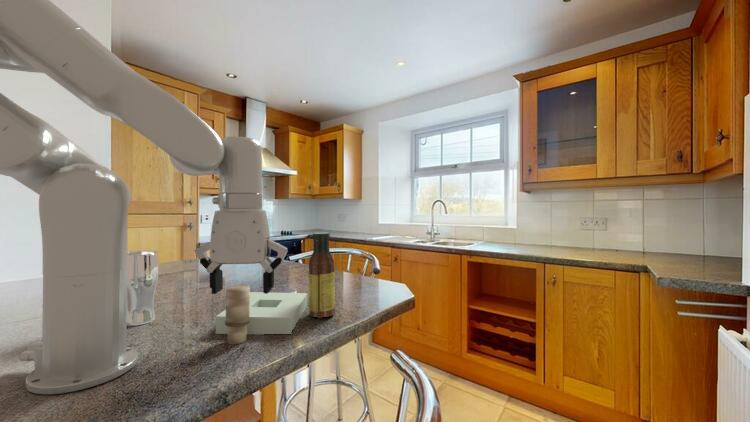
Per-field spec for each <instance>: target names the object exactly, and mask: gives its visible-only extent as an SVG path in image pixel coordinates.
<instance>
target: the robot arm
mask: <svg viewBox="0 0 750 422" xmlns="http://www.w3.org/2000/svg"><path fill="white" fill-rule="evenodd" d="M0 70H9V71H18V72H26V73H38V74H39V73H40V74H45V75H46V76H48V77H49V78H50V79H51V80H53V81H54V82H55V83H57V84H58V85H60V86H61V87H63V88H64V89H65V90H66V91H68V92H69V93H71V94H72V95H73V96H74V97H76V98H77V99H78V100H80V101H81V102H82V103H84V104H85V105H86V106H88V107H90V108H91V109H93V111H96V112H98V113H99V114H102V115H103V116H107V117H110V118H113V119H115V120H118V121H120V122H122V123H123V124H126V125H127V126H128V127H130V128H132V129H133V130H134V131H135V132H138V133H139V134H140V135H142V137H144V138H146V139H147V140H149V141H150V142H151V143H153V144H154V145H155V146H157V147H158V148H159V149H160V150H162V151H163V152H165V153H166V154H167V155H168V156H169V161H170V163H171V164H172V166H173V167H174V168H175V169H176V170H177V171H178V172H180V173H182V174H184V175H187V176H193V177H198V176H199V177H200V176H201V177H202V176H211V175H218V183H219V185H218V186H219V187H218V188H219V191H218V192H219V193H218V196H217V197H215V196H213V198H212V204H213V205H217V206H218V208H219V210H215V211H214V213H213V219H212V224H211V230H210V231H211V232H210V241H209V242H207V243H205V244H203V245H202V246H199V247H197V248H195V250H194V253H195V255H196V257H197V258H198V260H199V263H200V265H201V266H203V267H204V268H205V269H206V272H207V273H208V274H209V288H210V289H211V294H212V295H216V294H218V293H219V292H221V291H222V290H223V288H224V287H223V284H224V281H223V270H222V269H221V267H222V266H223V265H256V264H260V265H261V267H262V269H264V272H263V273H262V289H263V290H262V291H263V293H264V294H268V293H271V291H272V290H273V288H274V286H275V270H276V269H277V268H278V267H279V266H280V264H282V263H283V262H284V259H285V257H286V256H287V253H288V251H289V249H288V247H286V246H285V245H282V244H280V243H278V242H276V241H274V240H272V239H271V233H270V226H269V221H268V216H267V211H266V210H263V168H262V167H263V166H262V165H263V164H262V162H263V160H262V158H263V157H262V155H263V154H262V153H263V152H262V145H261V143H260V141H258V140H257V139H254V138H251V137H245V136H226V137H225V136H224V137H223V138H222V139H221V137H220V136H219V135H218V133H217V132H216V131H215V130H214V128H212V127H211V126H210V125H208V124H207V123H206V121H204V120H203V119H202V118H201V117H199V116H198V115H197V114H196V113H195V112H194V111H192V110H191V109H190V108H189V107H187V105H185V104H184V103H183V102H182V101H181V100H179V99H178V98H177V97H175V96H174V95H173V94H172V93H169V92H168V91H166V90H165V89H163V87H160V86H158V85H157V84H155V83H154V82H152V81H151V80H150V79H148V78H147V77H145V76H143V75H142V74H140V73H138V72H137V71H136V70H135V69H133V68H132V67H131V66H129V65H128V64H127V63H126V62H124V61H123V60H122V59H120V57H118V56H117V55H116V54H115V53H113V51H111V50H110V49H109V48H107V47H106V46H105V45H104V44H103V43H102V42H100V41H99V40H98V39H97V38H95V37H94V36H93V35H92V34H90V33H89V32H88V31H87V30H86V29H85V28H84V27H83V26H81V25H80V24H79V23H78V22H76V21H75V20H74V19H73V18H72V17H71V16H69V15H68V14H67V13H66V12H65V11H63V9H61V8H60V7H59V6H57V5H56V4H54V3H53V2H52V1H51V0H0ZM0 175H2V176H4V177H5V176H6V177H10V178H12V179H13V180H16V181H17V182H18V183H20V184H22V185H23V186H25V187H27V188H28V189H30V190H31V191H32V192H33V193H36V194H37V195H39V197H38V214H39V223H40V231H41V232H40V233H41V243H42V246H41V247H42V248H41V249H42V326H41V328H42V329H41V330H42V332H41V334H42V337H41V338H42V339H41V341H33V342H31V343H30V344H29V345H28V346H27V348H26V350H25V351H22V352H21V353H20V354H19V355H18V359H19V361H20V362H34V369H33V370H32V371H31V372H30V373H28V375H27V376H26V377H25V379H24V380H25V381H24V382H25V389H26V390H27V391H28V392H30V393H32V394H37V395H57V394H58V395H59V394H67V393H73V392H76V391H77V392H78V391H82V390H86V389H88V388H89V389H90V388H93V387H96V386H99V385H101V384H104V383H107V382H110V381H112V380H114V379H116V378H118V377H120V376H122V375H124V374H125V373H127V372H129V371H130V370H131V369H132V368H133V367H135V365H136V364H137V363H138V359H139V355H138V354H139V353H138V351H137V350H136V349H134V348H133V347H129V346H127V326H126V322H127V252H128V223H129V222H128V216H129V206H130V204H131V199H132V198H131V197H132V196H131V195H132V194H131V191H130V190H131V189H130V188H129V186H128V184H127V182H126V181H125V180H124V179H122V177H121V176H119V174H117V173H116V172H114V171H113V170H111V169H109V168H108V167H107V166H105V165H104V164H102V163H101V162H100V161H99V160H98V159H96V158H95V157H94V156H92V155H91V154H89V153H88V152H86V151H85V150H84V149H83V148H81V147H80V146H78V145H77V144H76V143H75V142H73V141H72V140H71V139H69V138H68V137H67V136H65V135H64V134H63V133H62V132H61V131H59V130H58V129H56V128H55V127H54V126H53V125H51V124H50V123H49V122H47V121H45V120H44V119H43V118H40V117H38V116H37V115H35V114H33V113H31V112H29V111H28V110H26V109H24V108H23V107H21V106H20V105H19V104H17V103H15V102H14V101H13V100H11V99H10V98H8V97H7V96H5V94H3V93H1V92H0ZM271 250H272V251H275V252H277V256H276V257H275V259H274V260H272V259H271ZM208 251H209V256H208V253H207V252H208Z"/></svg>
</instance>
